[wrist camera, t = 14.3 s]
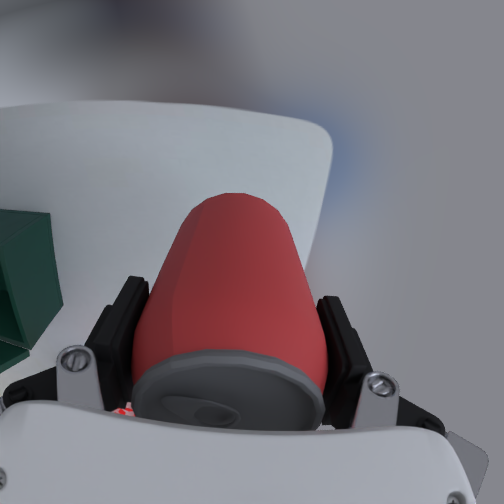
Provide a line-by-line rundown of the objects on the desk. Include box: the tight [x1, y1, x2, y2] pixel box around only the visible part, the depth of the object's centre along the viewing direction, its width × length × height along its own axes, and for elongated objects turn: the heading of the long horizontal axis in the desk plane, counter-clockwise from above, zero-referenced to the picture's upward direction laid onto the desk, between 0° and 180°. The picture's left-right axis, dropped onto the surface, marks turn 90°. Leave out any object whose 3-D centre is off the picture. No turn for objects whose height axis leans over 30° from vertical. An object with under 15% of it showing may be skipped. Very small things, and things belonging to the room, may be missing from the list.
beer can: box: [131, 193, 328, 431], centre depth 13 cm, size 7×7×12 cm
